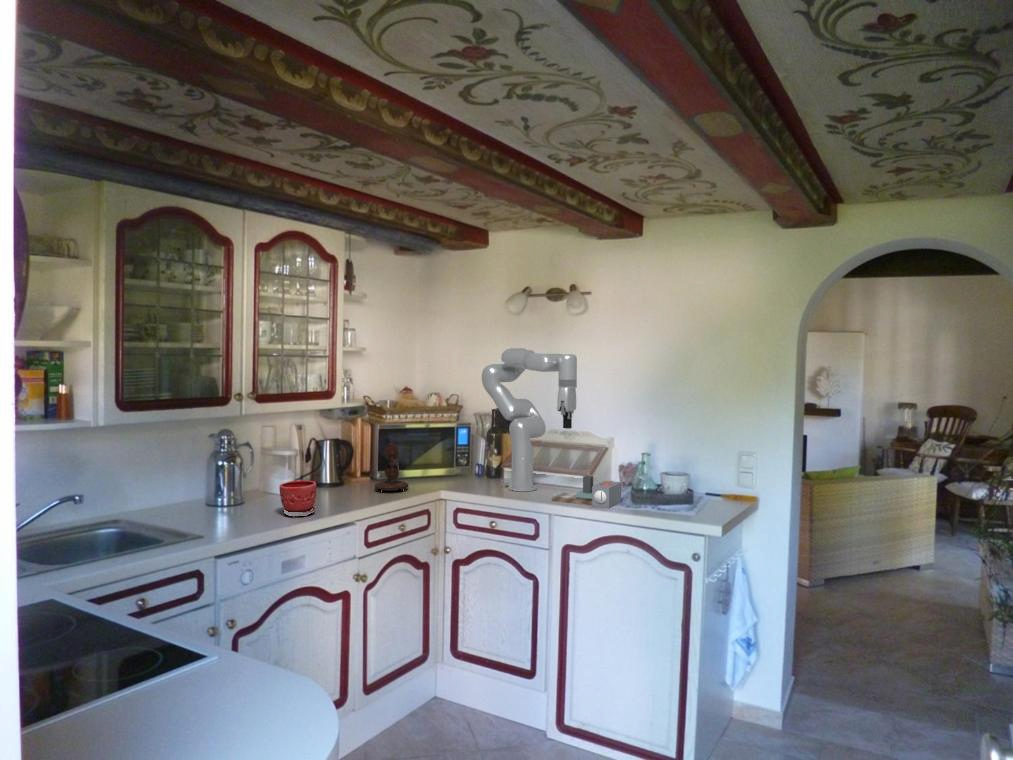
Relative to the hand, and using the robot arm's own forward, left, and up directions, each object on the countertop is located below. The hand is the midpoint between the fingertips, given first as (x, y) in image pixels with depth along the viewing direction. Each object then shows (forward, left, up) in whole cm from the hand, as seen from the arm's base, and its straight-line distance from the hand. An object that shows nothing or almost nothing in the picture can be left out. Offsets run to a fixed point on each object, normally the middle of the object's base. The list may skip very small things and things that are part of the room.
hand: (567, 428), depth 299 cm
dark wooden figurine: (-74, -22, -29) cm, 83 cm away
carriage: (+11, -4, -27) cm, 29 cm away
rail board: (+6, -4, -29) cm, 30 cm away
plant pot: (-75, -77, -29) cm, 111 cm away
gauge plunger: (+19, -4, -26) cm, 32 cm away
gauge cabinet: (+19, -4, -29) cm, 35 cm away
